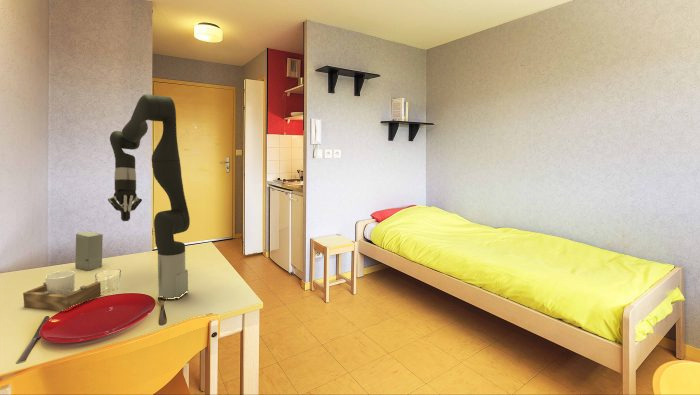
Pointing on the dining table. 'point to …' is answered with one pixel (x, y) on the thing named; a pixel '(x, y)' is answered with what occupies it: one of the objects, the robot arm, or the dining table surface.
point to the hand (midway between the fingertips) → (125, 221)
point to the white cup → (61, 282)
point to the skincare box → (88, 250)
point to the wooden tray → (59, 297)
